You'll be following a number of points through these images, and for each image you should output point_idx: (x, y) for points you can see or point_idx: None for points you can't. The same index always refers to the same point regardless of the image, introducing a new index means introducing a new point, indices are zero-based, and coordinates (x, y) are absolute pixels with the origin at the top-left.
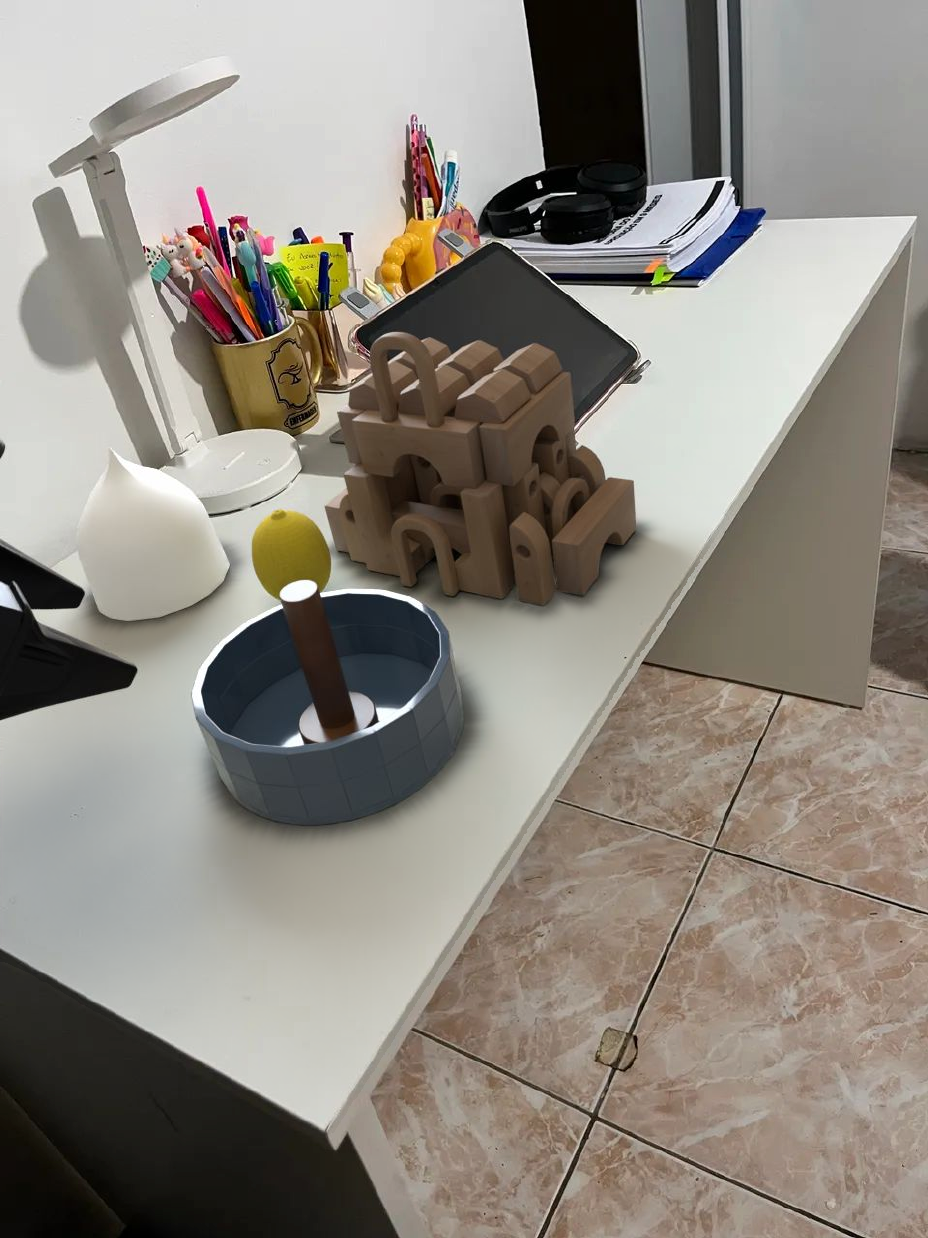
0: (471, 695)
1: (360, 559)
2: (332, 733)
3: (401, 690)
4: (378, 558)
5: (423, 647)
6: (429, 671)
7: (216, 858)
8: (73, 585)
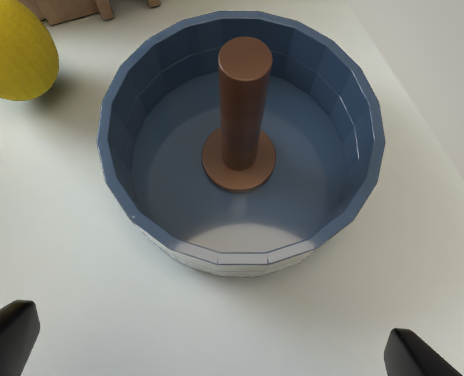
0: None
1: None
2: (257, 169)
3: None
4: (61, 7)
5: None
6: None
7: (298, 326)
8: (15, 317)
